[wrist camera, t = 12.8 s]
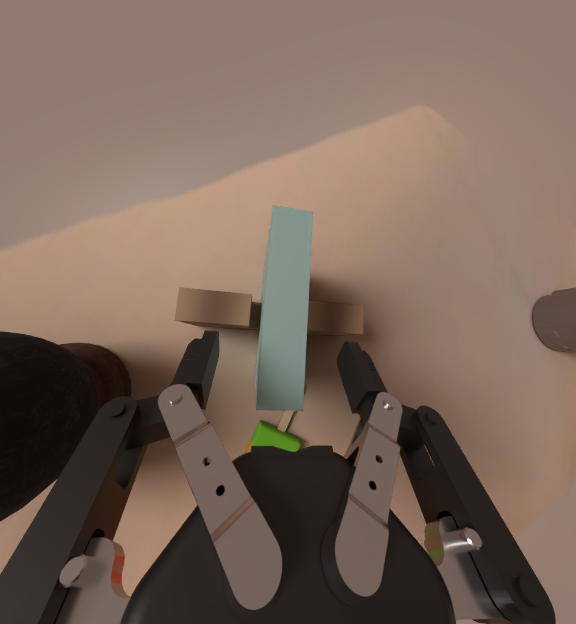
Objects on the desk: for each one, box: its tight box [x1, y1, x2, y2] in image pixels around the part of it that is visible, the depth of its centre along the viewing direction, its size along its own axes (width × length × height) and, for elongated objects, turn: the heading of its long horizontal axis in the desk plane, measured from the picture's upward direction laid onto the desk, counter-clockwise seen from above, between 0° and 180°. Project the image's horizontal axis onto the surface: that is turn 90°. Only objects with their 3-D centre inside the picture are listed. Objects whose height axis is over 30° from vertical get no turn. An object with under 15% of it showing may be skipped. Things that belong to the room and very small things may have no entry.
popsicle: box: [245, 411, 301, 453], centre depth 25 cm, size 6×15×2 cm, turn 154°
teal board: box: [255, 205, 313, 411], centre depth 21 cm, size 14×3×13 cm, turn 176°
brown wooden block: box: [175, 287, 364, 336], centre depth 24 cm, size 18×3×7 cm, turn 86°
